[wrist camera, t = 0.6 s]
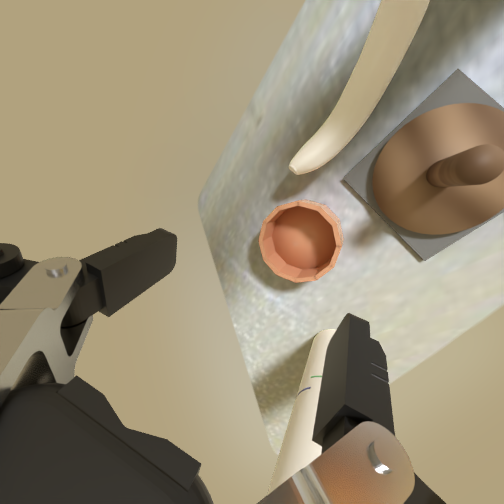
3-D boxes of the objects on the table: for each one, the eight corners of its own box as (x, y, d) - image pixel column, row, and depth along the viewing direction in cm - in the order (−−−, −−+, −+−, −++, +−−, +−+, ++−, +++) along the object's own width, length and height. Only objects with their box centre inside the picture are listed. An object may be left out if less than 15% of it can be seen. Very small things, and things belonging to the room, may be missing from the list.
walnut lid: (456, 76, 24) (513, 10, 16) (562, 168, 23) (692, 154, 14) (348, 177, 31) (344, 172, 22) (425, 255, 29) (455, 283, 20)
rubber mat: (456, 70, 25) (458, 68, 24) (568, 169, 23) (573, 168, 23) (342, 178, 31) (342, 178, 31) (423, 260, 30) (424, 261, 29)
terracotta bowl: (306, 184, 34) (298, 183, 29) (359, 240, 32) (360, 247, 28) (258, 234, 39) (245, 239, 34) (302, 284, 37) (295, 296, 33)
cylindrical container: (304, 341, 40) (237, 527, 18) (337, 321, 37) (306, 519, 14) (332, 374, 39) (299, 612, 17) (368, 357, 36) (387, 623, 14)
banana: (295, 171, 34) (256, 159, 21) (386, 16, 26) (414, -159, 13) (323, 189, 33) (300, 186, 20) (427, 32, 25) (501, -140, 12)
